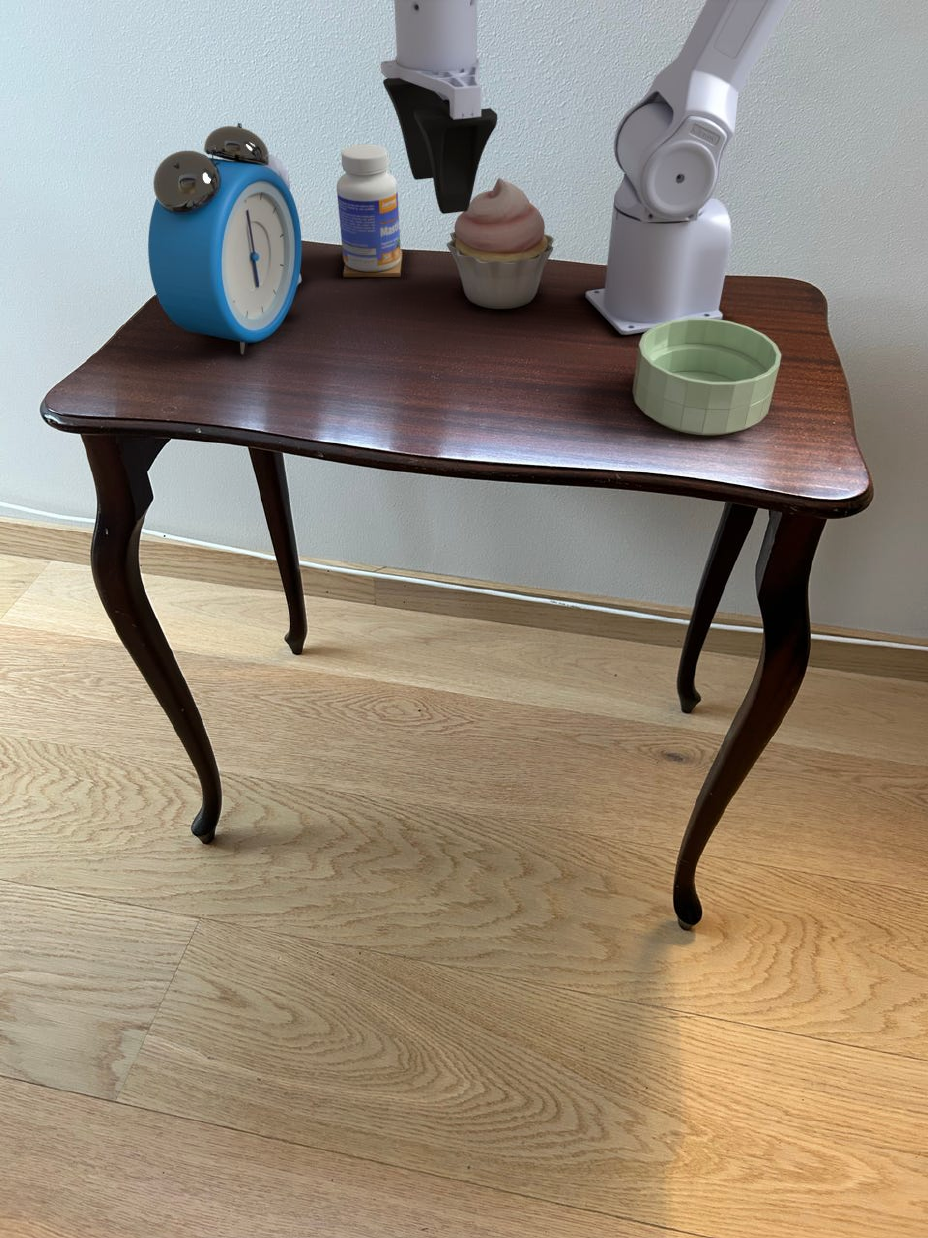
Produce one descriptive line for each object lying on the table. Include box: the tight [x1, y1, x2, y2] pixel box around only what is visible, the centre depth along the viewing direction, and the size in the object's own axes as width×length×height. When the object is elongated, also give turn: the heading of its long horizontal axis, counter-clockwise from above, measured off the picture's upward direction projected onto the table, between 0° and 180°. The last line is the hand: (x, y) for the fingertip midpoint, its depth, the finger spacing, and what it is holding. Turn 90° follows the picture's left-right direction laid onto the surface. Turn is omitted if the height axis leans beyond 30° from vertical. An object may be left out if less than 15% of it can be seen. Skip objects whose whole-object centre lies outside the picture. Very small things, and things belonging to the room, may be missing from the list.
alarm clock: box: [147, 122, 303, 355], centre depth 75 cm, size 13×6×15 cm, turn 158°
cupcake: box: [446, 177, 555, 310], centre depth 81 cm, size 9×9×10 cm
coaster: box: [342, 249, 403, 278], centre depth 90 cm, size 5×5×1 cm
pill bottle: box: [336, 143, 402, 272], centre depth 86 cm, size 5×5×10 cm
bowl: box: [632, 318, 782, 436], centre depth 70 cm, size 10×10×4 cm
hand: (439, 193), depth 74 cm, fingers open, 7 cm apart
